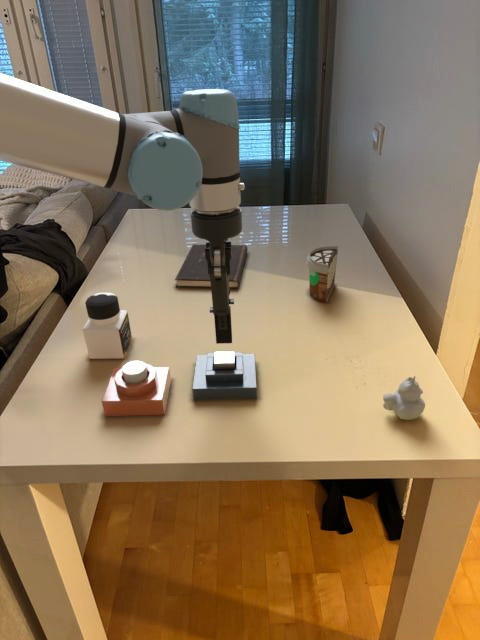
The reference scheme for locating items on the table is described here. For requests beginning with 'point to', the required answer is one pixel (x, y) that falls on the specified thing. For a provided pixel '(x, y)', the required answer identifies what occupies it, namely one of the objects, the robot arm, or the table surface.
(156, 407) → the orange button base
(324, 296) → the food container
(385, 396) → the white lumpy figurine
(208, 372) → the push button base
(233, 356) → the pump square
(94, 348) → the medicine bottle
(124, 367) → the white round push button
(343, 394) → the table surface
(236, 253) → the hardcover book
